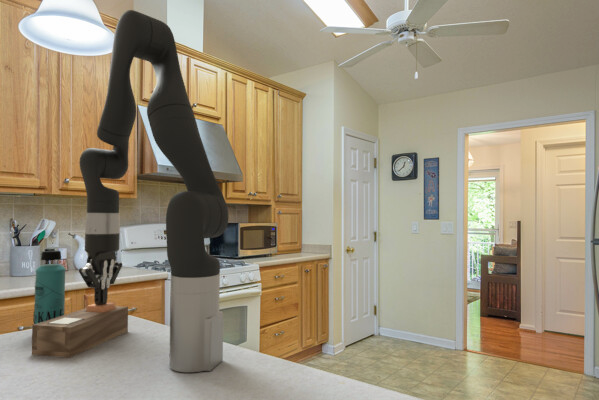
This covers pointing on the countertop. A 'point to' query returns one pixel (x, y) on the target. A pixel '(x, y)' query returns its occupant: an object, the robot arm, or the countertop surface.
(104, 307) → the terracotta plug
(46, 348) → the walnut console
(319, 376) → the countertop surface
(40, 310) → the beverage bottle
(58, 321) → the white plug
